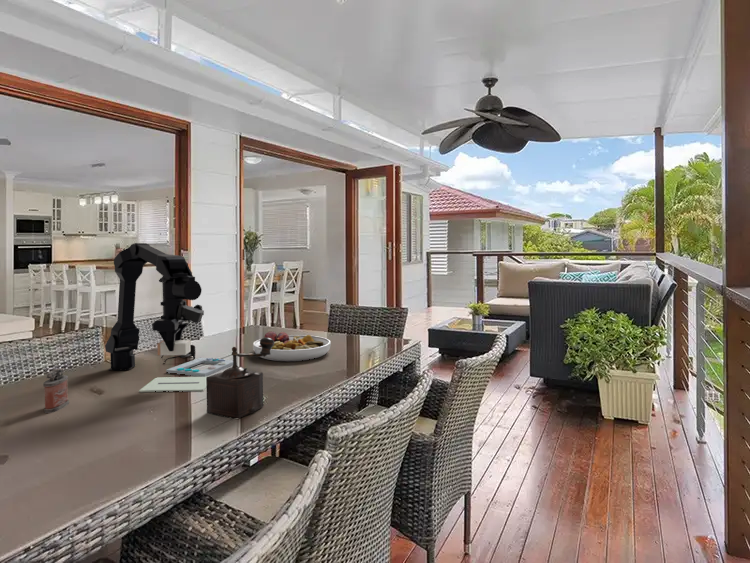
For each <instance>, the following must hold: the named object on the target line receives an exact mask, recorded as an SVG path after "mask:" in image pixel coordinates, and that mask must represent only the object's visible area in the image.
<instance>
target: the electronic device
mask: <svg viewBox="0 0 750 563" xmlns="http://www.w3.org/2000/svg"><path fill="white" fill-rule="evenodd" d="M205 363H206V365H207V364H208V365H211V366H207V368H204V369H195V368H194V369H193V368H191V367H195V366H197V365H200V364H205ZM232 366H233V359H224V358H221V359H219V358H213V357H211V358H209V357H199V358H195V360H193V359H192V360H190V361H188V362H184V363H182V364H181V363H180V364H179V365H176V366H172V367H169V368H168V369H165V373H166V372H168V373H167V374H170V373H177V374H176V375H180V374H185V375H184V376H190V375H191V376H190V377H209V376H212V375H214V374H217V373H219V372H221V371H224V370H226V369H228V368H231V367H232Z"/></svg>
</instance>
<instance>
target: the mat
mask: <svg viewBox="0 0 750 563" xmlns="http://www.w3.org/2000/svg"><path fill="white" fill-rule="evenodd" d="M207 377H208V376H206V377H201V376H180V377H179V376H171V377H169V376H167V377H166V376H165V377H164V376H163V377H160V376H159V377H155V378H154V379H152V380H151V381H149V382H148V383H147V384H145V385H144V386H143V387H142V388H140V389H139V390H138V393H164V392H163V391H166V392H165V393H168V391H169V392H170V393H171V392H172V393H174V392H173V391H179V392H182V391H183V392H204V391H205V389H206V390H207V385H206V378H207ZM155 391H156V392H155ZM179 392H178V393H179ZM183 392H182V393H183Z"/></svg>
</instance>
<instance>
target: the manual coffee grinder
mask: <svg viewBox="0 0 750 563" xmlns="http://www.w3.org/2000/svg"><path fill="white" fill-rule="evenodd" d="M260 339H261V340H260V345H261V347H262V350H261V352H260V354H256V353H238V347H236V346H232V348H231V351H232V352H231V356H232V360H233V366H230V367H228V368H225V369H224V370H222V372H221V371H220V372H217V373H214V374H211V375H209V376H206V377H207V378H206V385H207V387H206V413H207V414H210V415H214V416H220V417H224V416H225V418H229V417H231V418H230V419H234V418H239V419H242V418H244V417H246V416H248V414H249V415H251V414H252V413H255V412H256V411H258V410H260V409H261V408H263V407H264V406H265V405H264V374H263V372H260V371H254V370H248V368H247V367H245V368H244V366H238V364H237V360H238V359H237V357H239V358H243V357H244V358H245V357H250V358H261V357H260V356H264V357H265V356H267V355H271V353H270V350H271V348H272V347H273V346H274V340H273V339H271V338H267V337H264V336H263V338H260ZM243 416H244V417H243ZM241 417H242V418H241Z"/></svg>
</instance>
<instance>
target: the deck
mask: <svg viewBox="0 0 750 563" xmlns="http://www.w3.org/2000/svg"><path fill="white" fill-rule="evenodd" d="M156 344H157V356H162V355H164V356H180V355H186V354H188V353H189V352H190V351H191V347H190V345H191V339H181V340H175V344H174V350H173V351H169V350H168V348H167V346H166V344H165V342H164V340H163V339H162V340H161V341H160V342H158V343H156Z"/></svg>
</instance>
